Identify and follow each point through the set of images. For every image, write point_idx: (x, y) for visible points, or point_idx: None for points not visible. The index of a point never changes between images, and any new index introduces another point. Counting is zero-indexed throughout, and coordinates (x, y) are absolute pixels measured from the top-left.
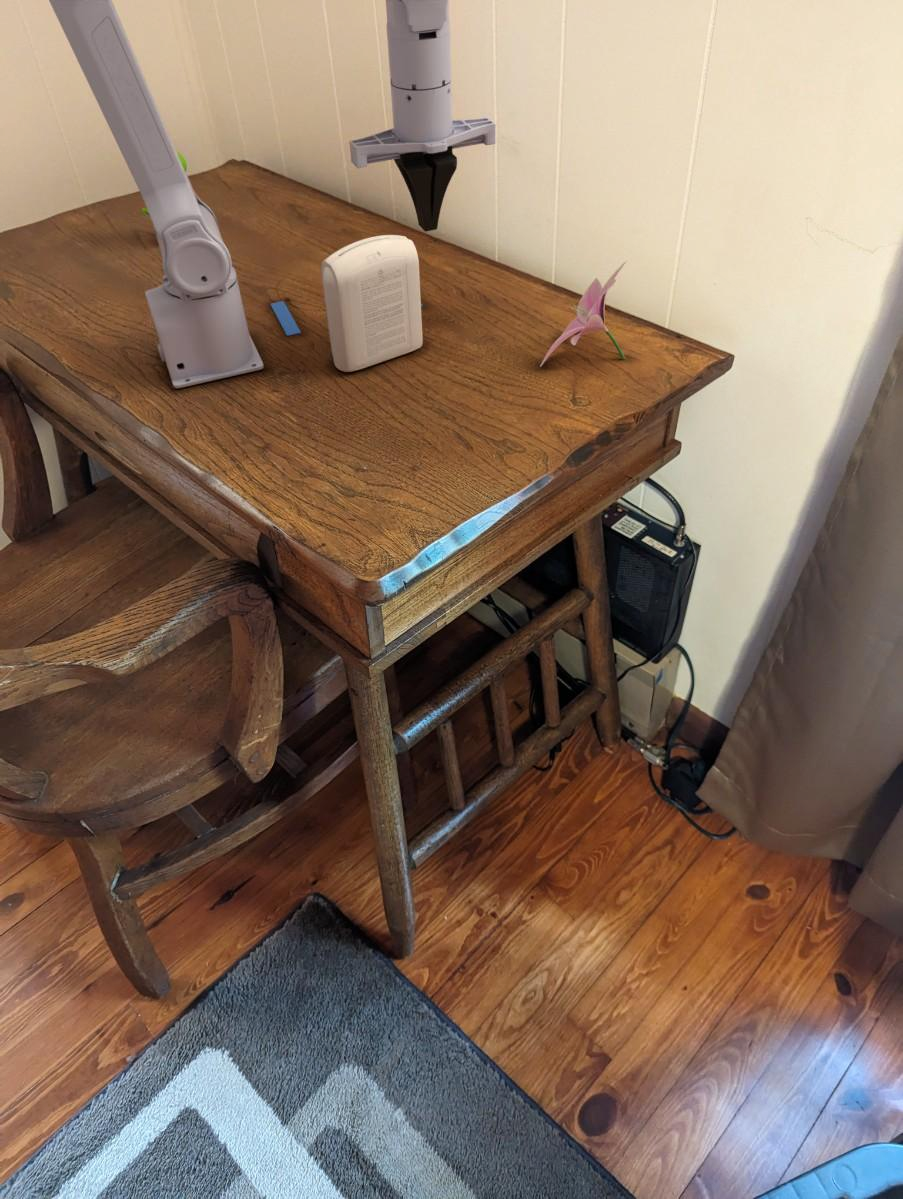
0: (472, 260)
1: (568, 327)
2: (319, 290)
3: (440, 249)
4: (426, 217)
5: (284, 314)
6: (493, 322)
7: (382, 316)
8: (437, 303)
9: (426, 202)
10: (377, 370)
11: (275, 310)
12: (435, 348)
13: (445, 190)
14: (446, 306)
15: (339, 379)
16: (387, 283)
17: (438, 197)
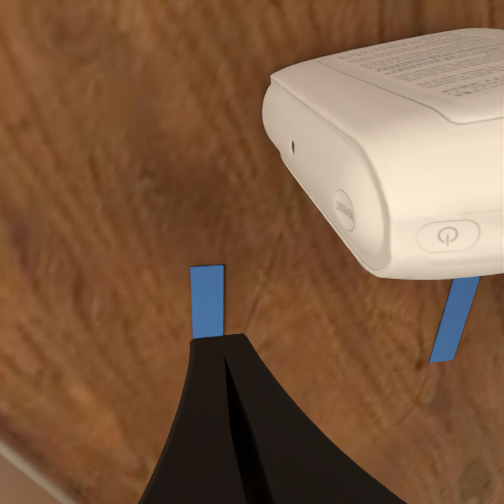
0: (12, 415)
1: None
2: (356, 381)
3: (74, 464)
4: (255, 367)
5: (452, 320)
6: (32, 127)
7: (453, 54)
8: (153, 269)
9: (274, 419)
10: (410, 21)
11: (457, 337)
12: (235, 60)
13: (158, 474)
14: (136, 249)
15: (501, 24)
16: (495, 75)
17: (202, 441)
